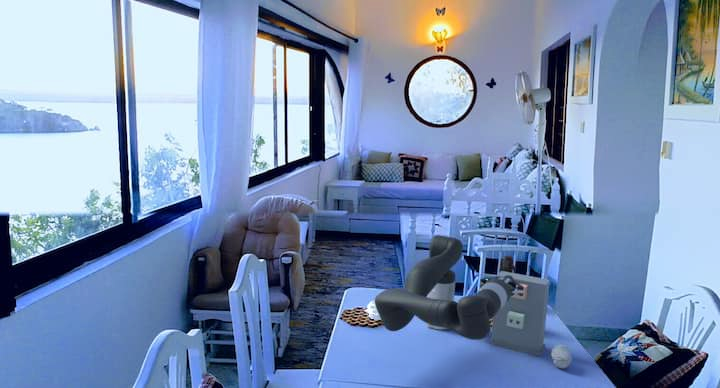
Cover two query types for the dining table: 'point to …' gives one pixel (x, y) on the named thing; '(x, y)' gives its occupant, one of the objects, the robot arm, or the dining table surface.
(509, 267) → the lantern
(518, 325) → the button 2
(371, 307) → the white bumpy piece
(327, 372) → the dining table surface
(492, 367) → the dining table surface
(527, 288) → the pink rectangular block
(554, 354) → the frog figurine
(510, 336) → the large grey rectangular box
